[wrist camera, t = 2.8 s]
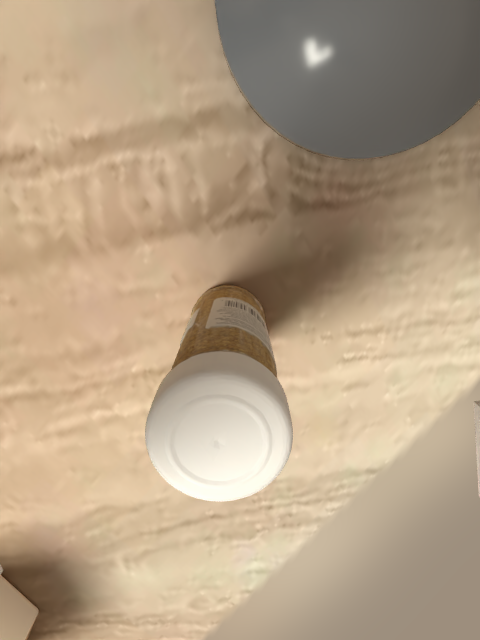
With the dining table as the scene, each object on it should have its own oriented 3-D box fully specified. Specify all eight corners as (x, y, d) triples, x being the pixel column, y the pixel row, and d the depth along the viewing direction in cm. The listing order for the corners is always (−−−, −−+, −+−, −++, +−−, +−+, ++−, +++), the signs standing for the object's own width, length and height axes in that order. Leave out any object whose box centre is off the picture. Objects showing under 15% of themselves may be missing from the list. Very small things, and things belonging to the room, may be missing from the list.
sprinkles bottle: (176, 316, 25) (109, 435, 12) (233, 267, 24) (226, 341, 11) (225, 369, 26) (211, 533, 13) (282, 324, 25) (326, 452, 12)
